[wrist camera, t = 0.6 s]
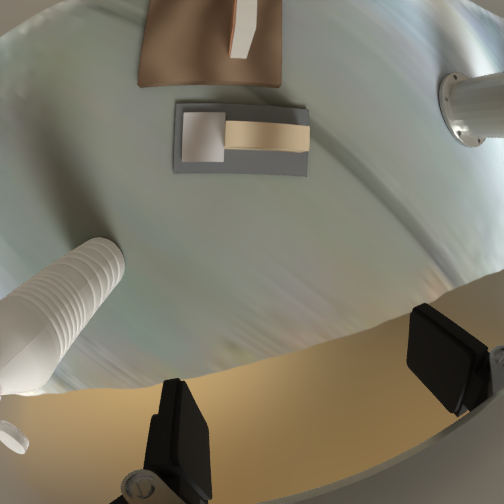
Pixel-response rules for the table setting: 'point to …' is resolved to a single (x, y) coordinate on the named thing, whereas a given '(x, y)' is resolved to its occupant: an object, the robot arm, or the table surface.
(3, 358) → the water bottle
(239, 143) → the turner
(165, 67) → the board
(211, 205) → the table surface
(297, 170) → the mat
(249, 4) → the tile
